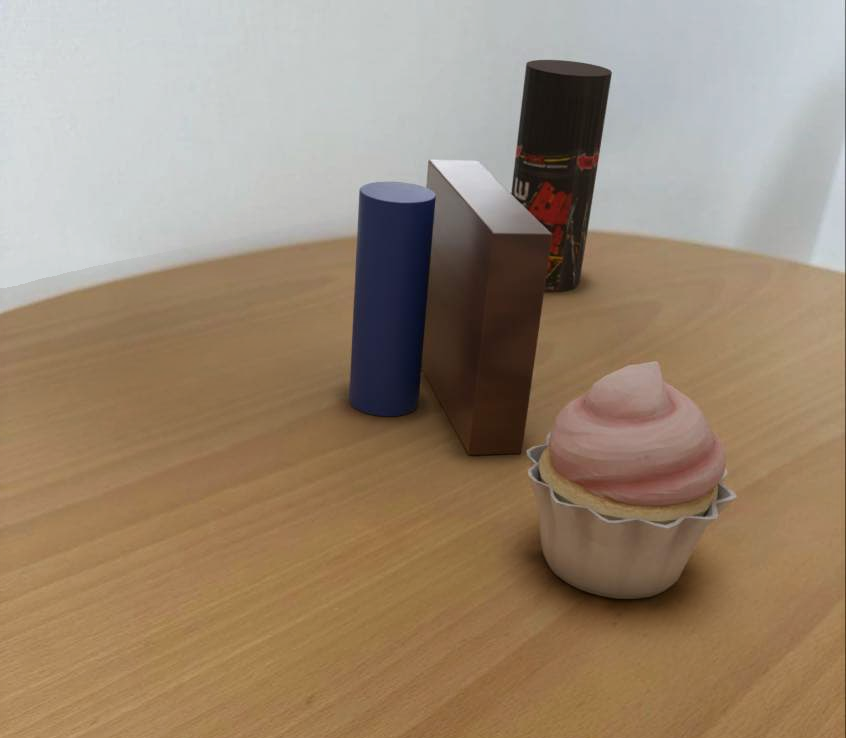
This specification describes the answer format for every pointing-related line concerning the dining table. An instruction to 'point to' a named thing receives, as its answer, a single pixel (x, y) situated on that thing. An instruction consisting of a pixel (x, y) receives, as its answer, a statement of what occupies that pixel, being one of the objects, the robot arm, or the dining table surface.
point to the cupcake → (627, 485)
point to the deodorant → (561, 157)
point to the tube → (390, 296)
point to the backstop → (483, 305)
